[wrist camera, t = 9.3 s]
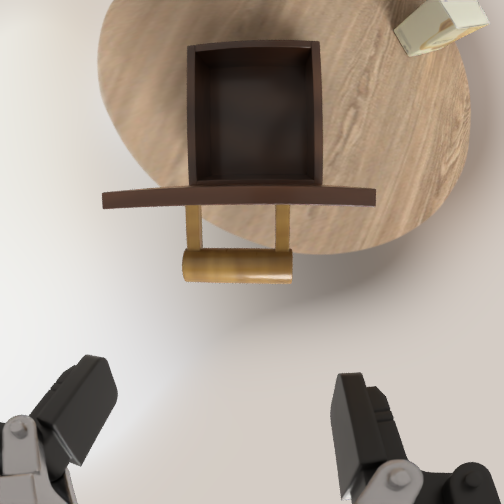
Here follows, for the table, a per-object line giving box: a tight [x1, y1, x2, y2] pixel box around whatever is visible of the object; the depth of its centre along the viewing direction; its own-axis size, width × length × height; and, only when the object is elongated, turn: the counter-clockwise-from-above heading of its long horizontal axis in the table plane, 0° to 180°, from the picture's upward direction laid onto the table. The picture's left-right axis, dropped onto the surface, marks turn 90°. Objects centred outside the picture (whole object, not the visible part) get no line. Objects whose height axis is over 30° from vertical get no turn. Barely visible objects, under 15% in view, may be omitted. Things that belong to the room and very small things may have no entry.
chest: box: [187, 40, 323, 186], centre depth 30 cm, size 15×13×8 cm
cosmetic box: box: [394, 0, 490, 57], centre depth 22 cm, size 6×4×12 cm
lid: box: [102, 184, 376, 284], centre depth 21 cm, size 15×13×5 cm
